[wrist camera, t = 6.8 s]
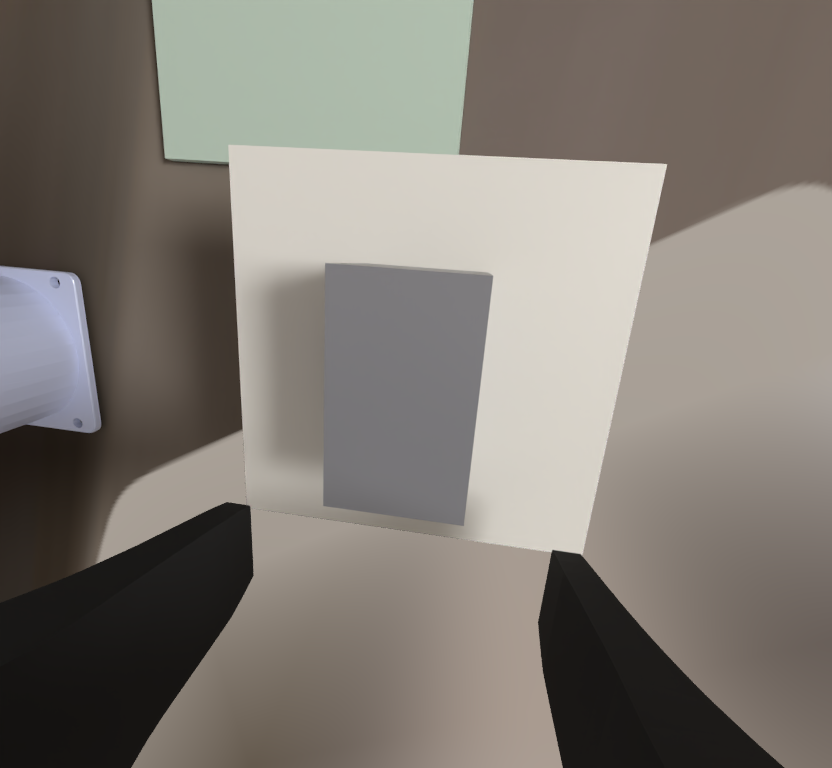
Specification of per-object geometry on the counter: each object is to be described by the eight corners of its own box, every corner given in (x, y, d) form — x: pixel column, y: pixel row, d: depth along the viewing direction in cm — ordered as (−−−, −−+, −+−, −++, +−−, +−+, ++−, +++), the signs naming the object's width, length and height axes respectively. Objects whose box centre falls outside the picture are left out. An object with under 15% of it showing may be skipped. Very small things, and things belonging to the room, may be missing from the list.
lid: (256, 497, 14) (181, 577, 10) (241, 150, 11) (130, 97, 7) (576, 543, 12) (615, 650, 9) (655, 170, 10) (755, 118, 6)
